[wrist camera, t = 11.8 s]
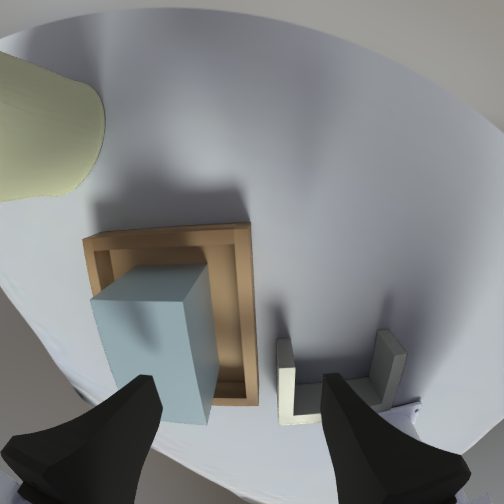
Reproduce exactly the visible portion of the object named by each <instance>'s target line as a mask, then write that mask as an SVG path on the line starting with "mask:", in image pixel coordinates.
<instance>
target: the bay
mask: <svg viewBox="0 0 504 504" xmlns="http://www.w3.org/2000/svg"><path fill="white" fill-rule="evenodd" d="M406 357H407V352H406V351H405V349H404V348H403V347H402V345H401V344H400V343H399V341H398V340H397V339H396V338H395V336H394V335H393V334H392V332H391V331H390V330H389V329H385V330H378V331H377V335H376V341H375V347H374V352H373V358H372V363H371V368H370V372H369V377H363V378H357V379H349V380H345V381H346V382H347V383H348V384H349V386H350V387H351V388H352V389H353V390H354V391H355V392H356V393H357V394H358V395H359V396H360V397H361V398H362V399H363V400H364V401H365V402H366V403H367V404H368V405H369V406H370V407H371V408H372V409H373V410H374V411H375V412H376V413H381V412H385V411H390V410H391V407H392V405H393V402H394V399H395V395H396V392H397V389H398V386H399V383H400V379H401V376H402V372H403V369H404V365H405V361H406ZM322 384H323V383H313V384H300V385H295V362H294V356H293V350H292V344H291V338H290V339H277V404H278V424H279V425H293V424H306V423H316V422H322V419H321V412H320V403H321V394H322Z"/></svg>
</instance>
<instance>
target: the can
mask: <svg viewBox="0 0 504 504" xmlns="http://www.w3.org/2000/svg"><path fill="white" fill-rule="evenodd" d="M104 131H105V115H104V108H103V105H102V102H101V99H100V97H99V95H98V94H97V92H96V91H95V90H94V89H93V88H92V87H91V86H89V85H88V84H86V83H83V82H79V81H74V80H71V79H69V78H66V77H64V76H61V75H59V74H57V73H54V72H52V71H49V70H47V69H44V68H42V67H40V66H37V65H35V64H32V63H29V62H27V61H24V60H22V59H19V58H17V57H14V56H11V55H9V54H6V53H3V52H1V51H0V203H1V202H7V201H13V200H19V199H25V198H32V197H40V196H50V197H57V196H62V195H65V194H67V193H69V192H71V191H72V190H74V189H75V188H76V187H77V186H79V185H80V184H81V183H82V182H83V181H84V179H85V178H86V177H87V176H88V174H89V173H90V171H91V169H92V168H93V166H94V164H95V162H96V160H97V158H98V155H99V153H100V150H101V146H102V143H103V138H104Z"/></svg>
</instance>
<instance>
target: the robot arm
mask: <svg viewBox="0 0 504 504" xmlns="http://www.w3.org/2000/svg"><path fill="white" fill-rule="evenodd" d="M421 407H422V403H421V402H415V403H411V404H407V405H403V406H399V407H395V408H391V410H390V411H385V412H381V413H376V412H375V411H374V410H373V409H372V408H371V407H370V406H369V405H368V404H367V403H366V402H365V401H364V400H363V399H362V398H361V397H360V396H359V395H358V394H357V393H356V392H355V391H354V390H353V389H352V388H351V387H350V386H349V384H348V383H347V382H346V381H345V380H344V378H343V377H342V376H341V375H340V374H339V373H330V374H323V384H322V394H321V403H320V412H321V419H322V426H323V431H324V434H325V438H326V442H327V445H328V449H329V453H330V456H331V460H332V464H333V467H334V472H335V477H336V484H337V492H338V501H339V504H493V502H492V500H491V498H490V496H489V495H488V493H484V494H482V495H481V496H479V497H477V498H476V499H474V500H472V501H470V502H469V500H468V498H467V496H466V494H465V492H464V491H463V488H462V487H463V486H464V485H465V484H466V483H467V481H468V480H469V478H470V476H471V472H470V470H469V468H468V466H467V464H466V462H465V461H464V459H463V458H462V456H461V455H458V454H455V453H451V452H448V451H444V450H441V449H438V448H435V447H433V446H430V445H428V444H425V443H423V442H421V440H420V438H419V436H418V434H417V432H416V430H415V428H414V426H413V425H414V423H415V421H416V418H417V416H418V414H419V412H420V409H421ZM162 412H163V406H162V403H161V400H160V397H159V394H158V391H157V388H156V385H155V382H154V379H153V376H152V375H143V374H140V375H138V376H137V377H136V378H134V379H133V380H132V381H130V382H129V383H128V384H126V385H125V386H124V387H122V388H121V389H120V390H119V391H117V392H116V393H115V394H113V395H112V396H110V397H109V398H108V399H106V400H105V401H103V402H102V403H100V404H99V405H97V406H96V407H94V408H93V409H91V410H90V411H88V412H86V413H84V414H83V415H81V416H79V417H77V418H75V419H73V420H71V421H68V422H66V423H63V424H61V425H59V426H56V427H53V428H50V429H47V430H43V431H39V432H35V433H30V434H23V435H16V436H13V437H12V438H11V439H10V440H9V442H8V443H7V444H6V446H5V447H4V448H3V450H2V451H1V452H0V453H1V456H2V458H3V459H4V461H5V462H6V463H7V464H8V466H9V467H10V468H11V469H12V470H13V471H14V472H15V473H16V474H17V475H18V476H19V477H20V478H21V479H22V481H24V482H23V483H22V485H20V484H19V483H18V482H17V481H15V480H14V479H12V478H11V477H10V476H8V475H7V474H5V473H4V472H2V471H0V504H134V500H135V495H136V490H137V485H138V481H139V477H140V473H141V470H142V467H143V464H144V461H145V459H146V457H147V454H148V452H149V449H150V447H151V445H152V442H153V440H154V437H155V435H156V432H157V430H158V427H159V424H160V420H161V416H162Z"/></svg>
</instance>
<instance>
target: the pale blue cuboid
mask: <svg viewBox="0 0 504 504" xmlns="http://www.w3.org/2000/svg"><path fill="white" fill-rule="evenodd" d="M90 302H91V306H92V310H93V314H94V318H95V321H96V325H97V328H98V332H99V335H100V339H101V342H102V345H103V348H104V351H105V354H106V357H107V360H108V363H109V366H110V369H111V371H112V374H113V377H114V379H115V382H116V385H117V387H118V390H120V389H121V388H122V387H124V386H125V385H126V384H128V383H129V382H130V381H132V380H133V379H134V378H136V377H137V376H138V375H140V374H143V375H152V376H153V379H154V382H155V385H156V388H157V391H158V394H159V397H160V400H161V403H162V406H163V412H162V416H161V420H160V421H166V422H175V423H184V424H195V425H207V423H208V418H209V414H210V409H211V405H212V400H213V396H214V392H215V387H216V383H217V378H218V374H219V369H220V363H219V356H218V348H217V341H216V333H215V325H214V316H213V308H212V299H211V289H210V280H209V270H208V263H200V264H170V265H137V266H135V267H134V268H132V269H131V270H130V271H128V272H127V273H125V274H124V275H123V276H121V277H120V278H118V279H117V280H116V281H114V282H113V283H112V284H110V285H109V286H107V287H106V288H105V289H103V290H102V291H101V292H99V293H98V294H97V295H95V296H94V297H93V298H91V299H90Z"/></svg>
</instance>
